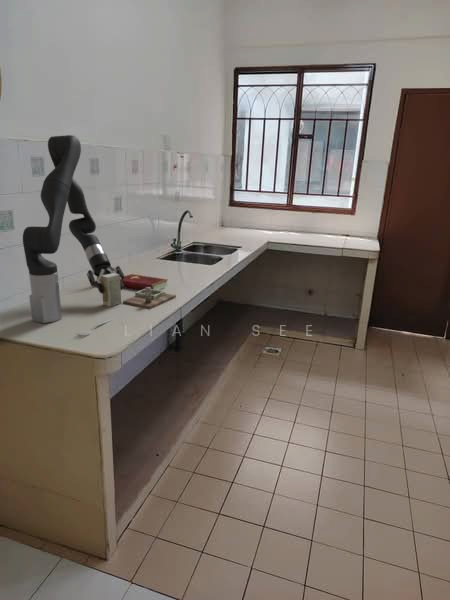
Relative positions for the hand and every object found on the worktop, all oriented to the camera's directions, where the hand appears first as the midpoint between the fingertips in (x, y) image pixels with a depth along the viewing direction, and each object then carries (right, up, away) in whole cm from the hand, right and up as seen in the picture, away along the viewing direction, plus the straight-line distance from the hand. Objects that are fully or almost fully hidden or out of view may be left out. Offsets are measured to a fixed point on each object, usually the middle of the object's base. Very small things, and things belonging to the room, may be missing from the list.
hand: (113, 290), depth 169 cm
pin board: (+13, -4, +9) cm, 16 cm away
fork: (+1, -13, -21) cm, 25 cm away
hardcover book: (+6, +2, +29) cm, 30 cm away
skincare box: (-1, -5, +3) cm, 6 cm away
